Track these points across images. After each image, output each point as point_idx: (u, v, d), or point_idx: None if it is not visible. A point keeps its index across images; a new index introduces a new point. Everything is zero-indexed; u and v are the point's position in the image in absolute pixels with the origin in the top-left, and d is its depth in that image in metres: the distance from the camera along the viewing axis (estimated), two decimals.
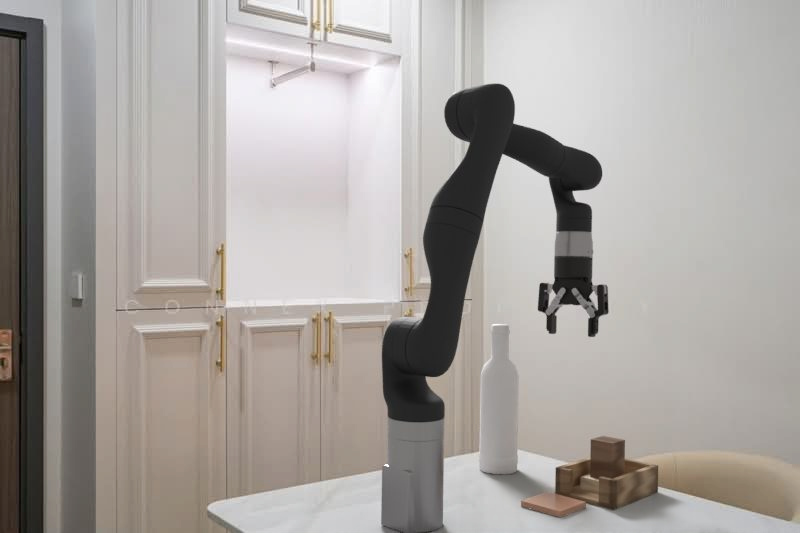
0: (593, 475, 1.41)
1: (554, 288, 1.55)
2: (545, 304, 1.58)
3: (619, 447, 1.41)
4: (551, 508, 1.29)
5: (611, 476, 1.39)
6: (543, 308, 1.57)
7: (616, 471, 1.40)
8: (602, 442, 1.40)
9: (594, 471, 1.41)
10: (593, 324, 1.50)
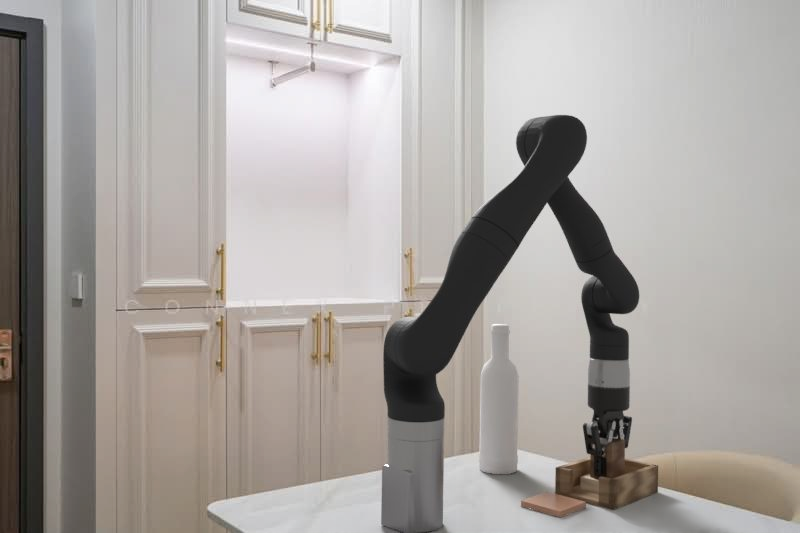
0: (593, 475, 1.41)
1: (603, 423, 1.39)
2: (590, 446, 1.39)
3: (619, 447, 1.41)
4: (551, 508, 1.29)
5: (611, 476, 1.39)
6: None
7: (616, 471, 1.40)
8: None
9: None
10: None
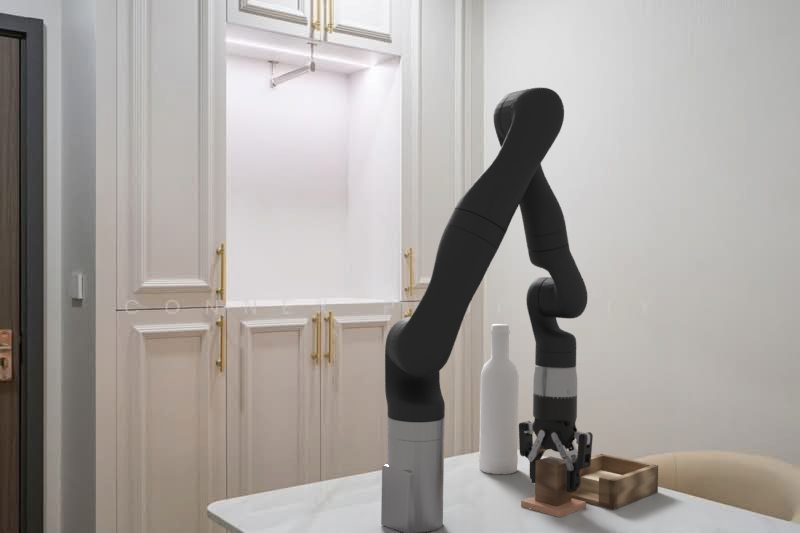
0: (559, 503, 1.31)
1: None
2: None
3: None
4: (551, 508, 1.29)
5: (570, 496, 1.33)
6: None
7: None
8: (565, 464, 1.32)
9: (559, 498, 1.31)
10: None
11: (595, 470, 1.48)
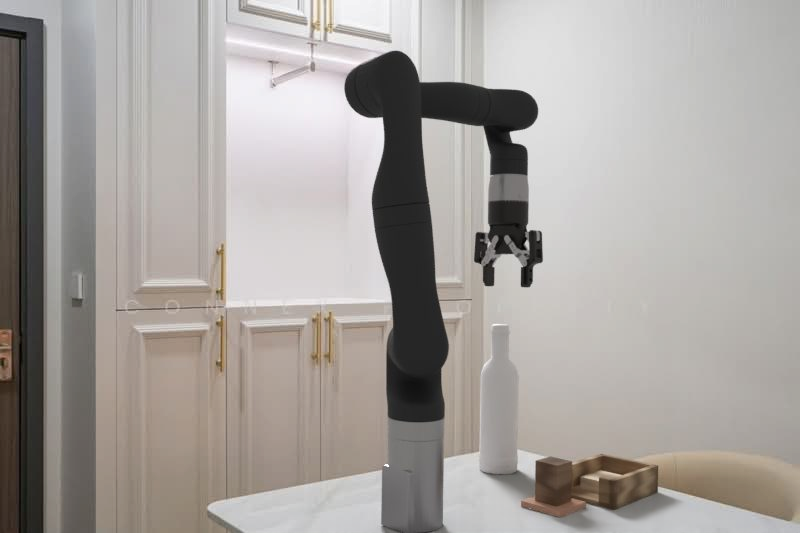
0: (559, 503, 1.31)
1: None
2: None
3: None
4: (551, 508, 1.29)
5: (570, 496, 1.33)
6: None
7: None
8: (565, 464, 1.32)
9: (559, 498, 1.31)
10: None
11: (595, 470, 1.48)
